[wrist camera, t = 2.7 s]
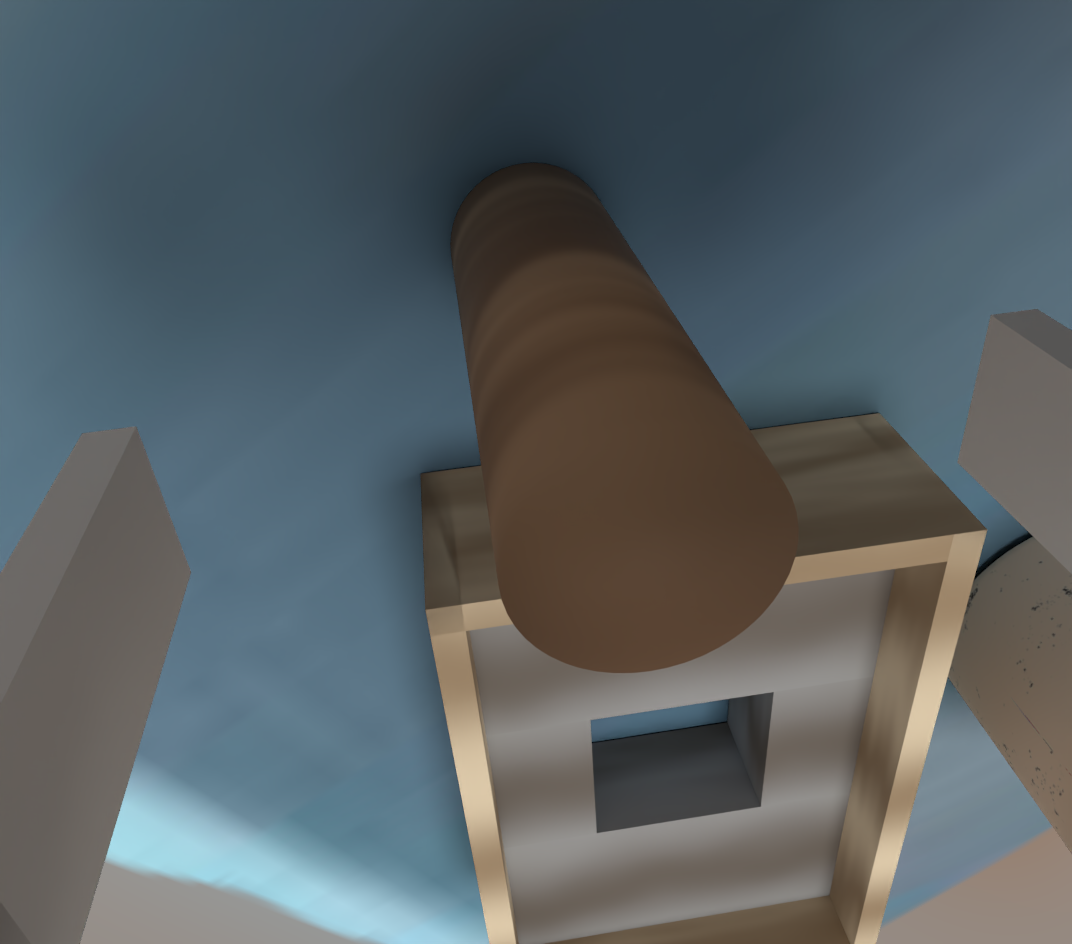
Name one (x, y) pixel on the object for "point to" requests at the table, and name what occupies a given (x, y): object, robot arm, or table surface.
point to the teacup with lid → (1023, 672)
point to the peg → (605, 440)
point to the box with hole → (721, 749)
